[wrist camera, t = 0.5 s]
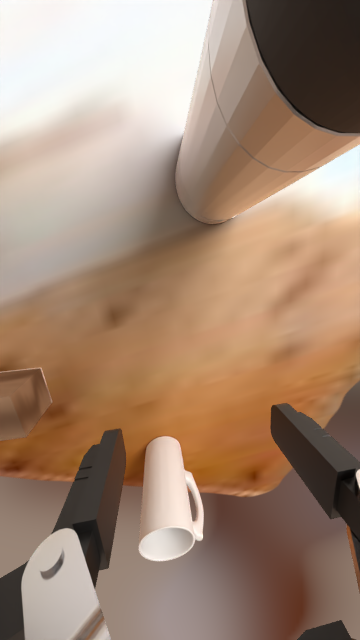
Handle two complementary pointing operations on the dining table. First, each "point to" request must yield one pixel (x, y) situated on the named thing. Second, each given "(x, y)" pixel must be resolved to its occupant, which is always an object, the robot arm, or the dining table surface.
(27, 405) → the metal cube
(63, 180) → the dining table surface
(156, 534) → the mug
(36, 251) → the dining table surface
